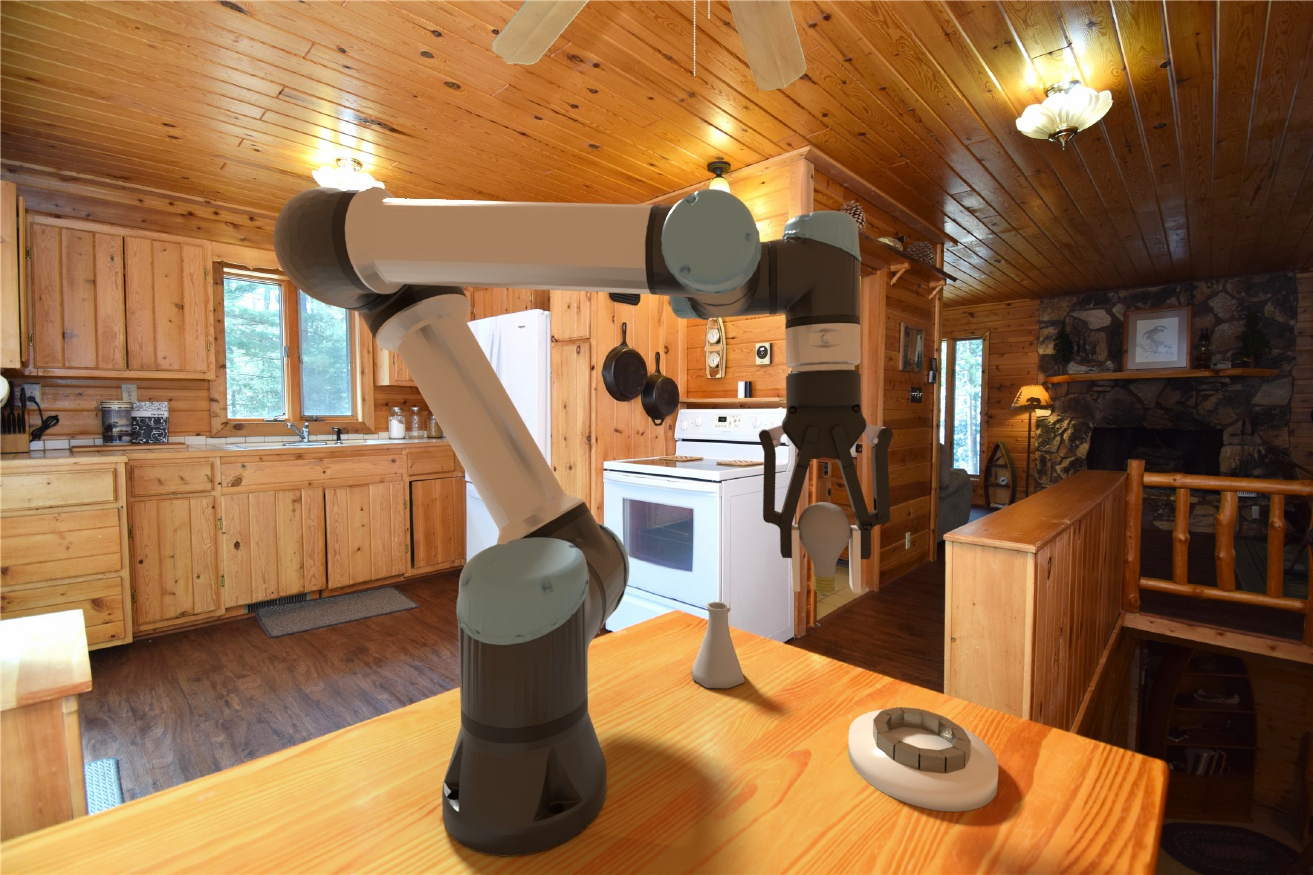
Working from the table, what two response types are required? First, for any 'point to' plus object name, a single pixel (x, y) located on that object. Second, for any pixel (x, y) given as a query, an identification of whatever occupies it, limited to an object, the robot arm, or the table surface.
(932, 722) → the socket collar
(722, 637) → the flask
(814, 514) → the light bulb
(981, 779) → the socket base
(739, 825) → the table surface
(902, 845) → the table surface
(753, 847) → the table surface
